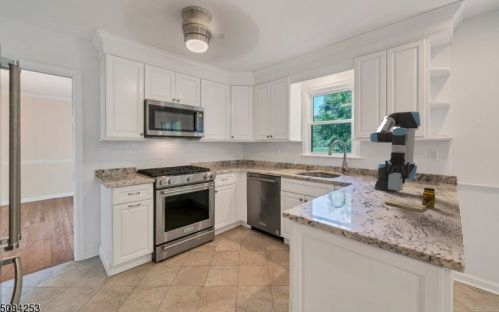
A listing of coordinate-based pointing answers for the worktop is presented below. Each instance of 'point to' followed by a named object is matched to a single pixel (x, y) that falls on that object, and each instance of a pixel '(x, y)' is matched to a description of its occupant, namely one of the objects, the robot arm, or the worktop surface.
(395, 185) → the block
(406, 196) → the worktop surface
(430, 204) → the condiment
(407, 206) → the board
